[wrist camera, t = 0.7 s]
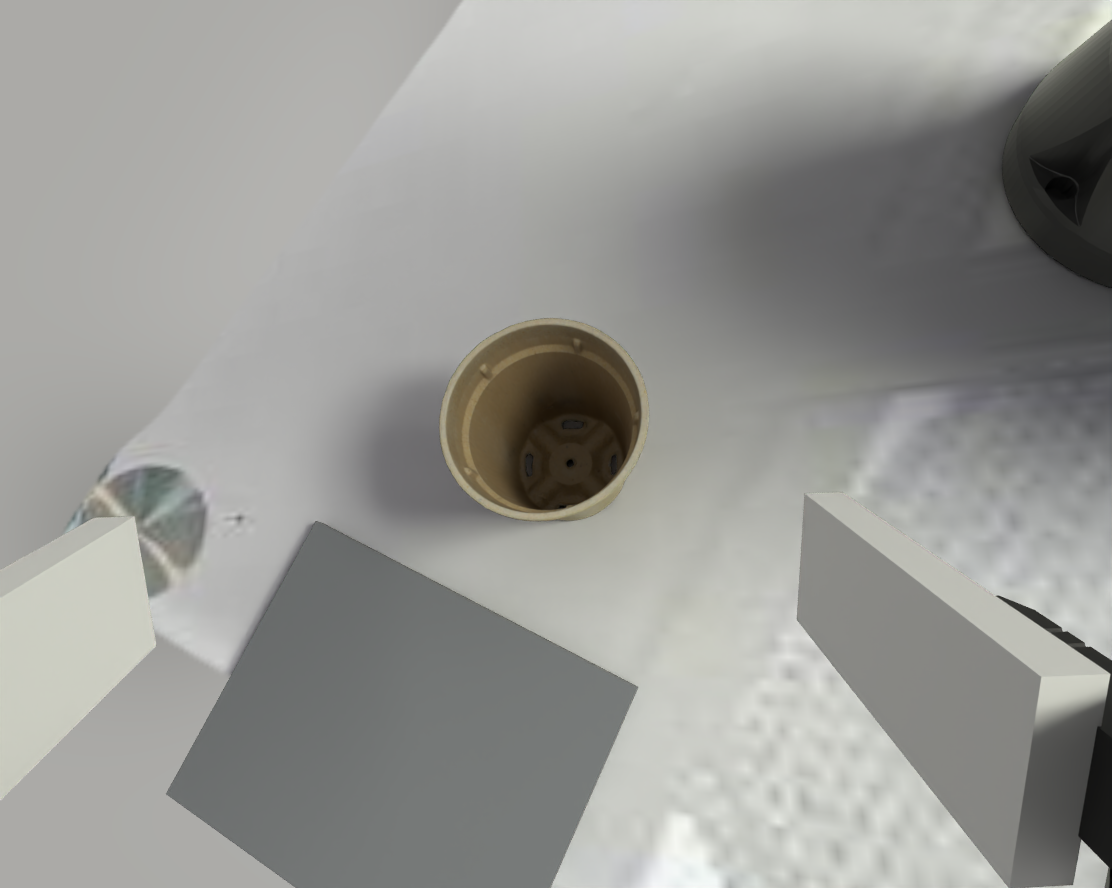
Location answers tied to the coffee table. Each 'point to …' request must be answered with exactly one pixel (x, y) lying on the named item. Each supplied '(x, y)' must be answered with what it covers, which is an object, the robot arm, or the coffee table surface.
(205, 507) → the coffee table surface
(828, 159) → the coffee table surface
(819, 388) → the coffee table surface
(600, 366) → the flower pot
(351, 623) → the charcoal mat
